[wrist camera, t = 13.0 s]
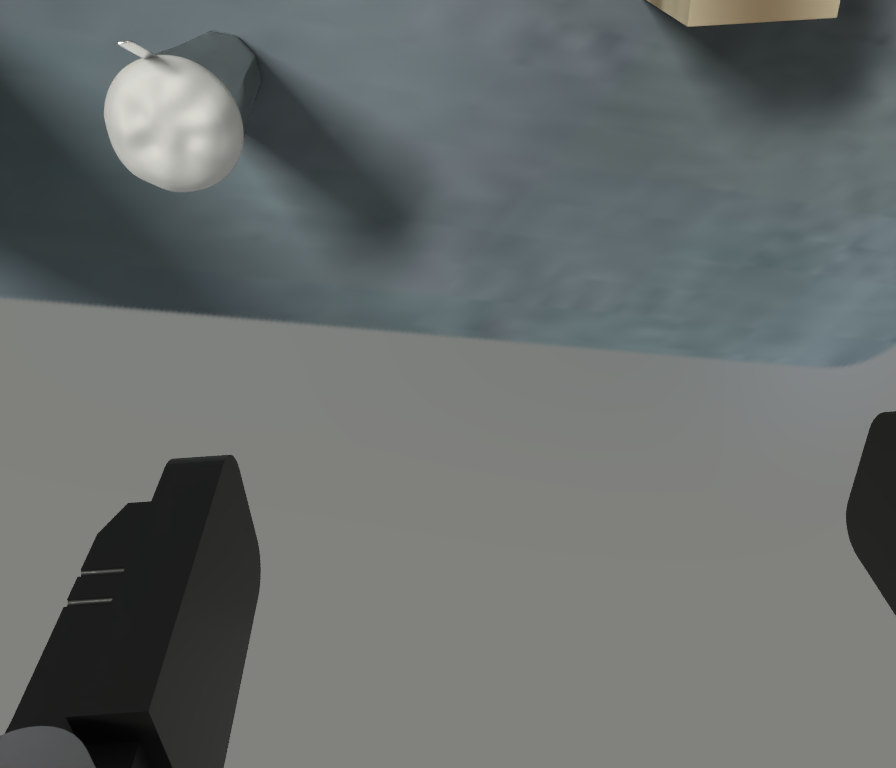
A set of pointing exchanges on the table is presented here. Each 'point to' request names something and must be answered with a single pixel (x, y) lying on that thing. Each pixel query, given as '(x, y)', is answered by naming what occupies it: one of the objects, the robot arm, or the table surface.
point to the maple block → (745, 10)
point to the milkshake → (183, 111)
